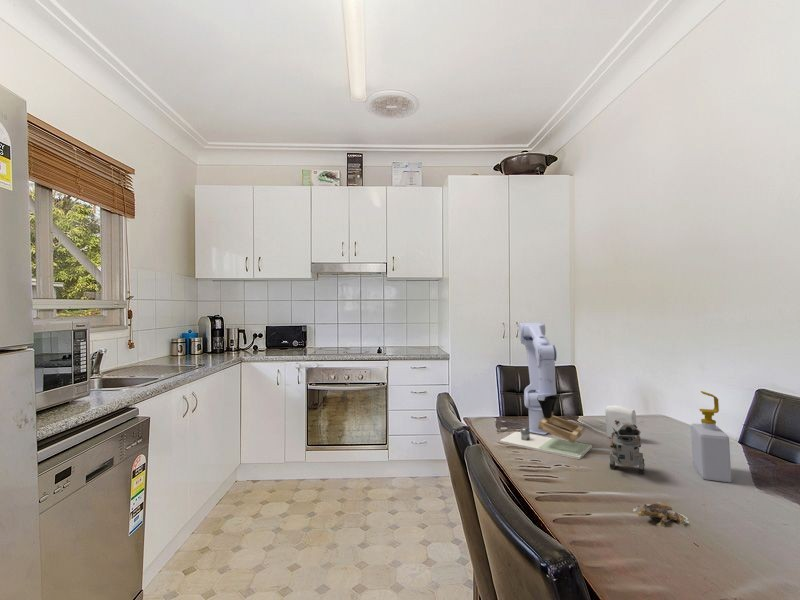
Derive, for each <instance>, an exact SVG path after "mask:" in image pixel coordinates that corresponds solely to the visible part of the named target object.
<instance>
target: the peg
mask: <svg viewBox="0 0 800 600" xmlns="http://www.w3.org/2000/svg"><path fill="white" fill-rule="evenodd" d="M520 432H521V439H522V440H525V441H528V440H530V434H531V432H530V430H529V427H526V426H522V427H520Z"/></svg>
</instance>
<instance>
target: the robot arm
mask: <svg viewBox="0 0 800 600" xmlns="http://www.w3.org/2000/svg"><path fill="white" fill-rule="evenodd" d="M518 333H519V340H520V344H522V345H524V347H525V350H526V357H527V358H526V359H527V366H528V375H529V376H528V377H529V385H527V386H526V387H525V388H524V389H523V393H524V394H523V400H524V401H523V402H524V403H523V404H524V407H525V408H526V409H528V428H529V430H530V434H536V435H541V436H546V435H547V434H549V433H548V432H545V431H543V430H540V429H538V426H539V422H540V421H541V420H543V419H544V418H551V412H552V411H553V412H555V411H554V410H555V405H556V404H557V401H558V398H559V397H558V395H557V394H558V393H557V386H556V363H555V362H556V361H557V356H558V355H557V353H558V352H557V348H556V347H557V346H555V344H551V343H550V340H549V339H548V337H547V336H546V325H545V323H544V322H543V321H541V322H520V323H519V325H518ZM543 415H544V418H542V416H543Z"/></svg>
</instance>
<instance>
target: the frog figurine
mask: <svg viewBox="0 0 800 600" xmlns="http://www.w3.org/2000/svg"><path fill="white" fill-rule="evenodd" d="M639 507H640V505H638V506H635V507H633V509H632V511H633V512H636V511H637V509H638V508H639ZM636 514H637V516H638V517H643V518H644V517H645V518H650V519H653V520H656V521H660V522H657V523H655V525H656V526H658V527H659V528H666V523H668V522H670V521H671V520H675V522H676V523H677V524H678V525H680V526H684V525H685V524H689V523H690V522H689V521H688V520H689V519H688V517H687V516H686V515H684V514H682V513H680V512H674V511H673V507H671V505H670V504H667V503H666V501H661V502H656V503H652V504H648V503H644V504H643V505H642V508H641V509H640V510H639V511H638V512H636Z"/></svg>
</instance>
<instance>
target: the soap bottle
mask: <svg viewBox="0 0 800 600" xmlns="http://www.w3.org/2000/svg"><path fill="white" fill-rule="evenodd" d="M700 393H701V394H703V395H704V396H705V395H706V396H709V397H713V402H714V403H713V404H714V407H713V409H710V408H709V409H707V408H699V409H698V410H699V412H701V415H702V416H703V415H704V418H701V419H700V422H701V423H691V425H690V430H691V431H690V433H691V454H692V464H693V466H694V467H695V469H696V471H697V472H698V473H699V475H700V477H701V478H702V479H703V480H707V481H708V480H709V481H716V482H723V483H732V468H731V467H732V466H731V463H732V462H731V447H730V437H729V436H728V434H727V433H726V432H725V431H723V430H722V429H721V428H720V427H719V426H718V425H716V423H717V421H716V420H715V419H713V416H715V414H718V413H719V411H720V404H719V399H718V397H717V396H716V395H714V394H711V393H708V392H705V391H702V390H701V391H700Z"/></svg>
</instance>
